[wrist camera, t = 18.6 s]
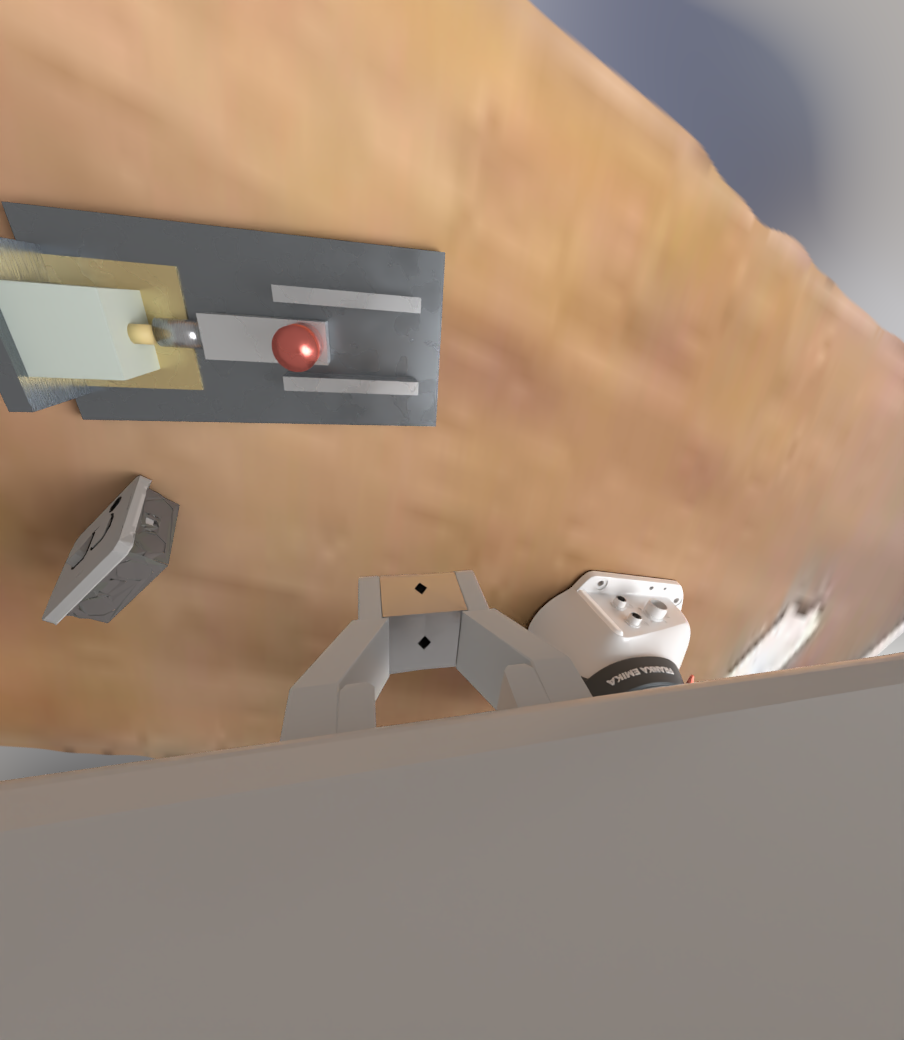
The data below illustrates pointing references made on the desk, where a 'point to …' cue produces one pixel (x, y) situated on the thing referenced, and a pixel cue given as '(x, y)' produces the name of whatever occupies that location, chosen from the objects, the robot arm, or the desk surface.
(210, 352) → the ram
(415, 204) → the desk surface
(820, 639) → the desk surface
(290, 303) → the press
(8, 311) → the block
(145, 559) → the electrical switch
